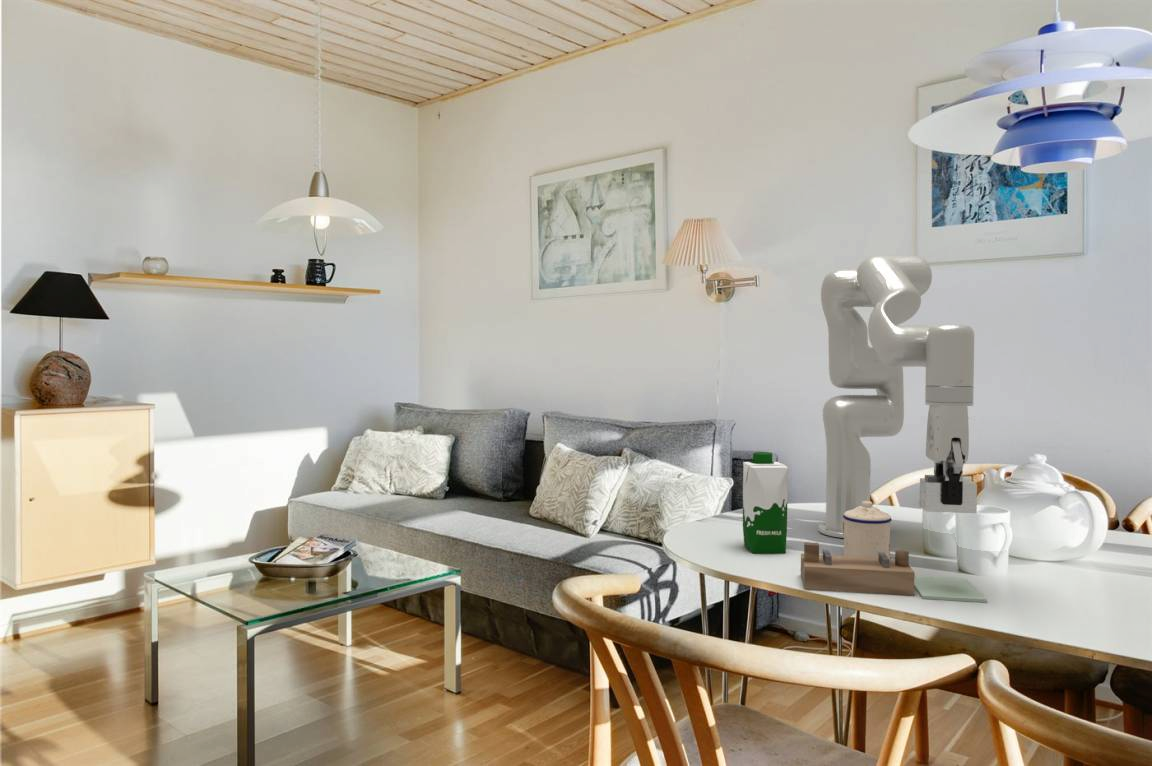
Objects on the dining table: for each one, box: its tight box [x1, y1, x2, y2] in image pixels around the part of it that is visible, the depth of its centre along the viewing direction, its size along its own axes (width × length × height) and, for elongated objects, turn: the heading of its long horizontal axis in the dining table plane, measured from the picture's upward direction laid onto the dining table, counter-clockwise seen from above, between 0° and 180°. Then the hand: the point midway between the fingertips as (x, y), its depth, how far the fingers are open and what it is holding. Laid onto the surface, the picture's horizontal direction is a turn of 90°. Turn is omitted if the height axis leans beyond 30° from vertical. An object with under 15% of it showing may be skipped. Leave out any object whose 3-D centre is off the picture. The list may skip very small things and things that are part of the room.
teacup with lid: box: [842, 500, 893, 558], centre depth 160 cm, size 12×9×12 cm
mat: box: [914, 575, 988, 603], centre depth 138 cm, size 12×10×1 cm
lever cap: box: [919, 474, 978, 514], centre depth 137 cm, size 5×8×6 cm, turn 78°
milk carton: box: [742, 451, 789, 554], centre depth 166 cm, size 9×9×20 cm
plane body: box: [800, 541, 915, 597], centre depth 141 cm, size 9×18×7 cm, turn 78°
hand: (947, 500), depth 137 cm, fingers closed on lever cap, 5 cm apart
